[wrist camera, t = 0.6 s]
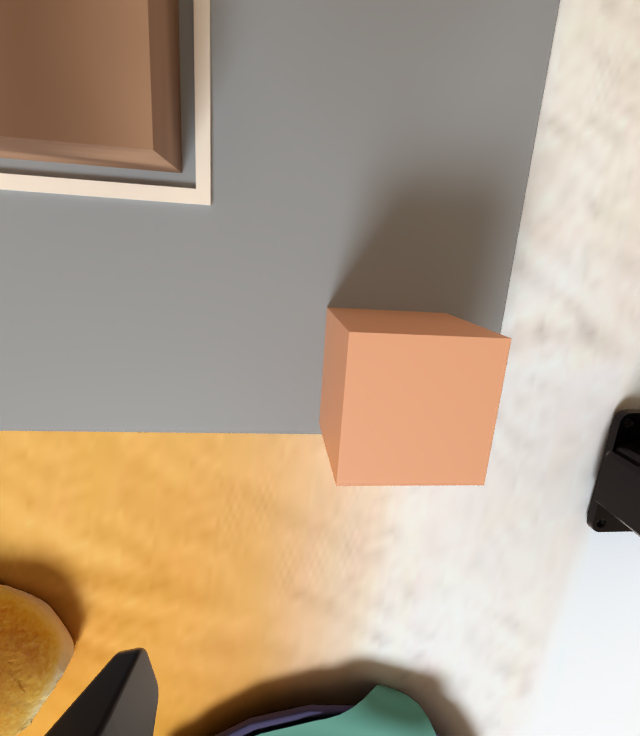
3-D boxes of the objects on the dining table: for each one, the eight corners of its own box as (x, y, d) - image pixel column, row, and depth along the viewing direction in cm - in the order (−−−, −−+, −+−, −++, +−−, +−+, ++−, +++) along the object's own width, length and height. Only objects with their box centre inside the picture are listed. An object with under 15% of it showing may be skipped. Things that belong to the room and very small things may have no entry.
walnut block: (177, -32, 14) (142, -139, 10) (182, 173, 15) (153, 149, 11) (-30, -61, 13) (-154, -189, 9) (-2, 157, 15) (-98, 127, 11)
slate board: (557, -36, 15) (572, -51, 15) (475, 430, 20) (483, 437, 19) (-139, -148, 13) (-165, -173, 12) (-39, 423, 17) (-54, 432, 17)
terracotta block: (446, 313, 18) (511, 338, 13) (430, 424, 19) (483, 485, 14) (327, 307, 17) (349, 331, 12) (319, 423, 19) (336, 485, 14)
